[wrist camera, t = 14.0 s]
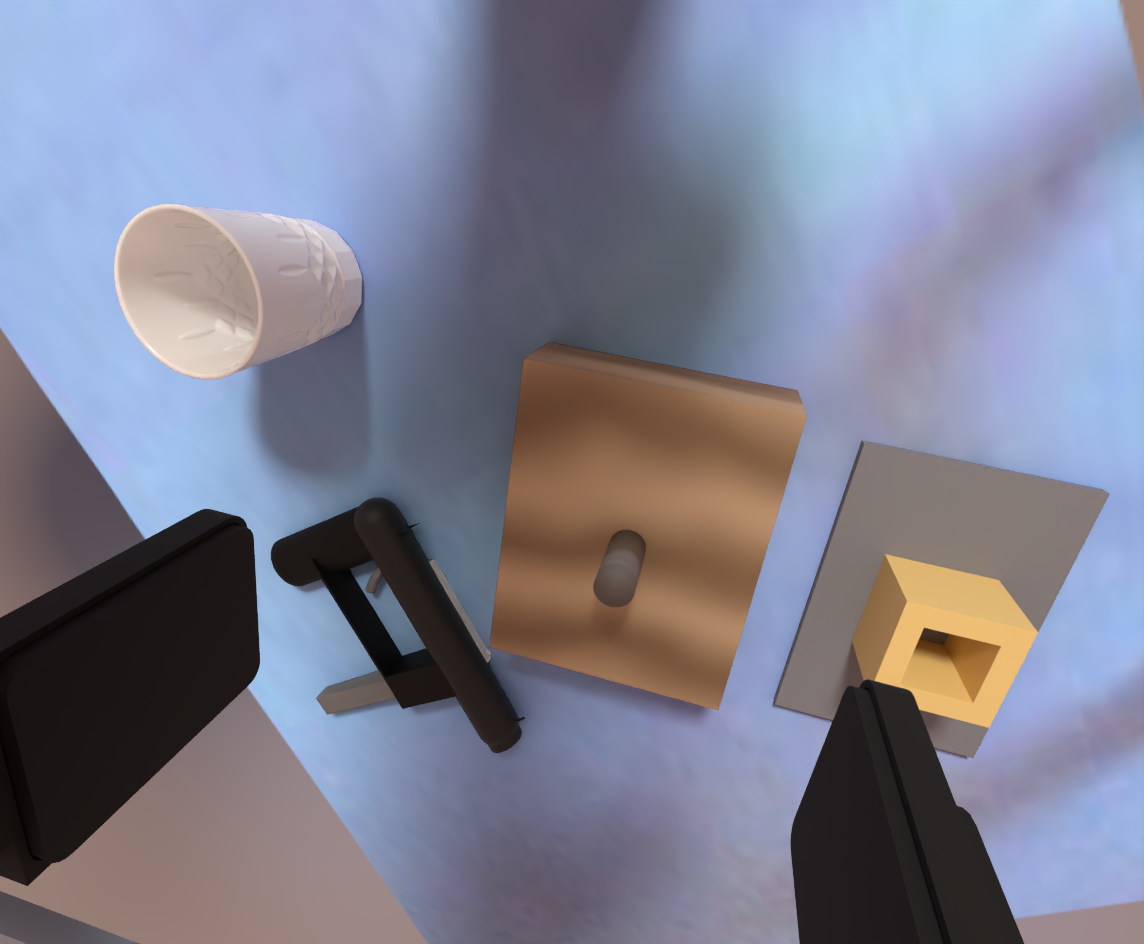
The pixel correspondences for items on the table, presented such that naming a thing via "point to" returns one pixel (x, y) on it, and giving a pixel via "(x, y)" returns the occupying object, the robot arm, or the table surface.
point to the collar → (971, 652)
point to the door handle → (426, 600)
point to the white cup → (232, 286)
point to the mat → (931, 560)
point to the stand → (639, 517)
